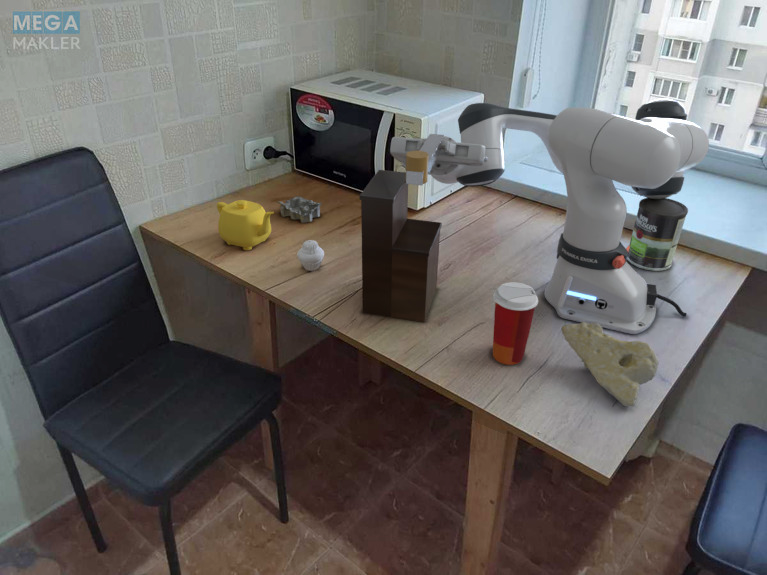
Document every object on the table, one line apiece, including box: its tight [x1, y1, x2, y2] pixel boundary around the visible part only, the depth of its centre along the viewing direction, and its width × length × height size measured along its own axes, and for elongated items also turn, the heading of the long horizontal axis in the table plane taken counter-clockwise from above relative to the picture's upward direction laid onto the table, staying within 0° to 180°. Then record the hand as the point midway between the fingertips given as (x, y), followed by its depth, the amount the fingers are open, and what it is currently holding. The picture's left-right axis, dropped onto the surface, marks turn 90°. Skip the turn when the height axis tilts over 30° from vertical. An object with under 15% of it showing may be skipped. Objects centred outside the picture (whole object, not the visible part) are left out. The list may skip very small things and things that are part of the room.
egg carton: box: [276, 196, 322, 224], centre depth 164 cm, size 11×8×4 cm
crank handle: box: [405, 133, 445, 186], centre depth 117 cm, size 22×4×5 cm, turn 165°
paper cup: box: [492, 281, 539, 366], centre depth 110 cm, size 8×8×14 cm
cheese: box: [561, 322, 660, 408], centre depth 107 cm, size 15×7×15 cm
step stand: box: [359, 169, 443, 323], centre depth 122 cm, size 14×13×26 cm
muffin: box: [296, 239, 325, 272], centre depth 139 cm, size 6×6×7 cm
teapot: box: [216, 199, 275, 251], centre depth 149 cm, size 18×11×11 cm, turn 59°
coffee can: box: [626, 197, 689, 272], centre depth 141 cm, size 10×10×14 cm
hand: (433, 143), depth 124 cm, fingers closed on crank handle, 3 cm apart
